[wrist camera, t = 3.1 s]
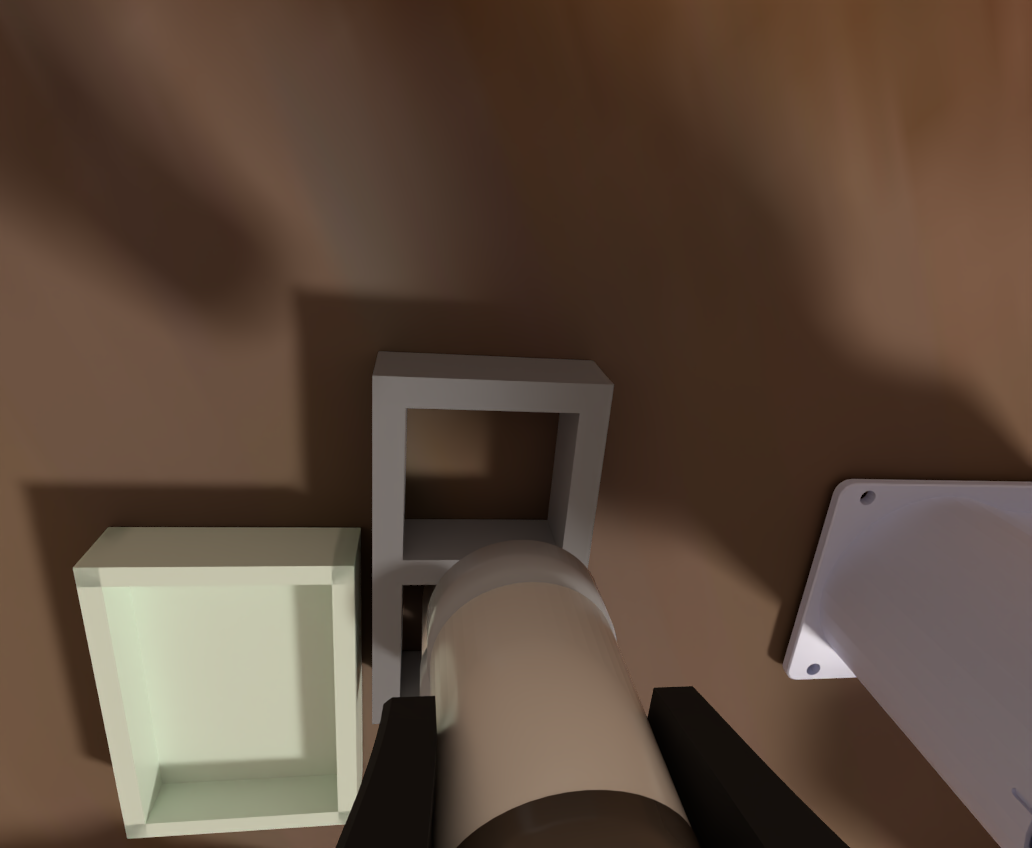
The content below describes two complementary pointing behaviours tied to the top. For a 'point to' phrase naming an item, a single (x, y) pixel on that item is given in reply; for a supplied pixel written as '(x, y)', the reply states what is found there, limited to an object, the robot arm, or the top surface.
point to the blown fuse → (539, 712)
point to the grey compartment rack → (443, 542)
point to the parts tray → (227, 674)
